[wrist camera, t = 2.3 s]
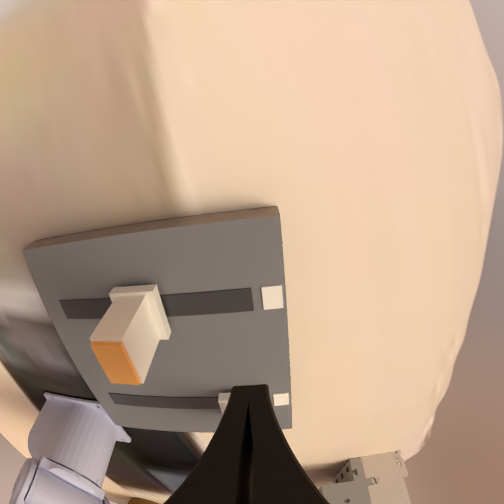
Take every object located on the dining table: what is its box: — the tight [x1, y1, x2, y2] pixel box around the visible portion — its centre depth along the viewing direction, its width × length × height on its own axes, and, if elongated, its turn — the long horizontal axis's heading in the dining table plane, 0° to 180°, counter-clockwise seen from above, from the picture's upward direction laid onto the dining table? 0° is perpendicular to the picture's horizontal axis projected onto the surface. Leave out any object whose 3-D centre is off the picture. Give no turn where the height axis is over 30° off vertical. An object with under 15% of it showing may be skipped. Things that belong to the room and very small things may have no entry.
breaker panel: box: [23, 206, 292, 432], centre depth 21 cm, size 18×20×2 cm
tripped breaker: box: [90, 284, 171, 385], centre depth 15 cm, size 3×4×5 cm
